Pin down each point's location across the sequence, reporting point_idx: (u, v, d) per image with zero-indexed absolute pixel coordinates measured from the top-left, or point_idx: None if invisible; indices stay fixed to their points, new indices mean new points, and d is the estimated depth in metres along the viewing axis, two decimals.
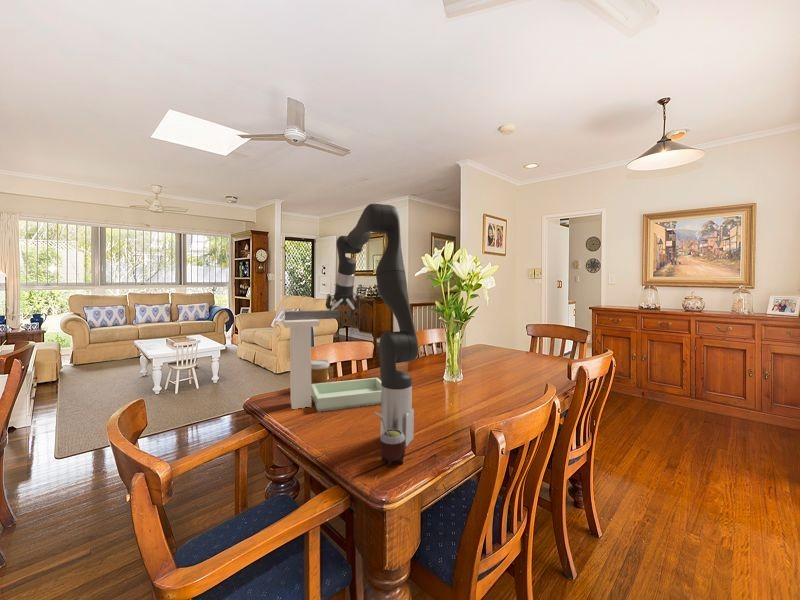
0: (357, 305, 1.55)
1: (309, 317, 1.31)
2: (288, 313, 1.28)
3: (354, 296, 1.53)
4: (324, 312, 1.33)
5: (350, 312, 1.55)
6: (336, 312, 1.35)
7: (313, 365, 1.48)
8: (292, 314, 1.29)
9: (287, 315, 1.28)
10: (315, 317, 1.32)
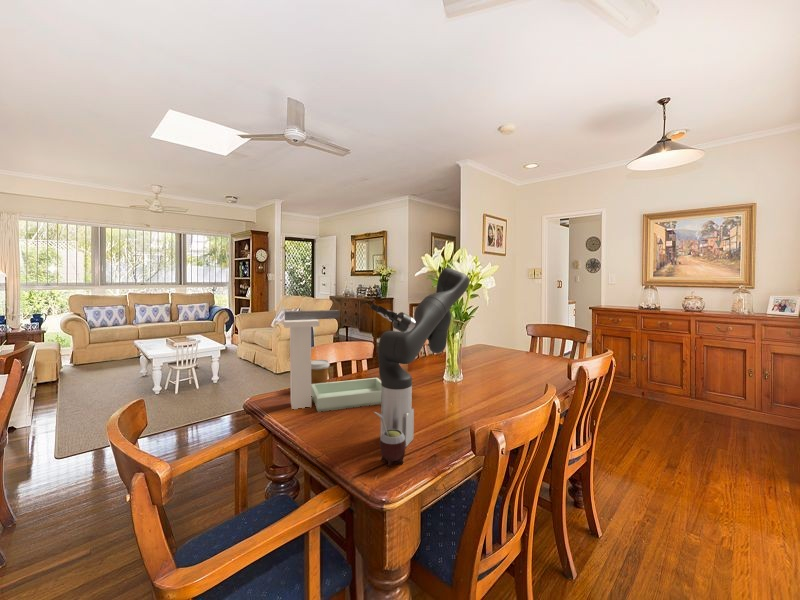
0: (393, 312, 1.37)
1: (309, 317, 1.31)
2: (288, 313, 1.28)
3: None
4: (324, 312, 1.33)
5: None
6: (336, 312, 1.35)
7: (313, 365, 1.48)
8: (292, 314, 1.29)
9: (287, 315, 1.28)
10: (315, 317, 1.32)
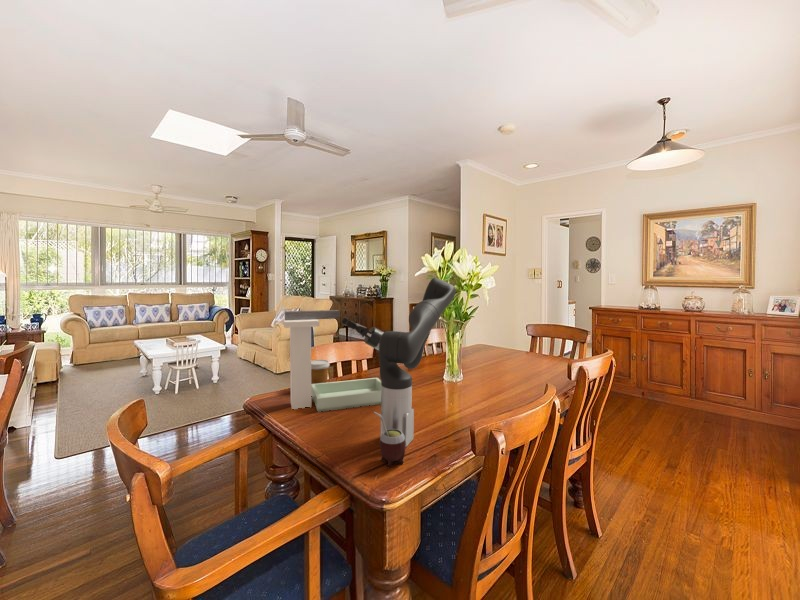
0: (362, 327, 1.34)
1: (309, 317, 1.31)
2: (288, 313, 1.28)
3: None
4: (324, 312, 1.33)
5: None
6: (336, 312, 1.35)
7: (313, 365, 1.48)
8: (292, 314, 1.29)
9: (287, 315, 1.28)
10: (315, 317, 1.32)
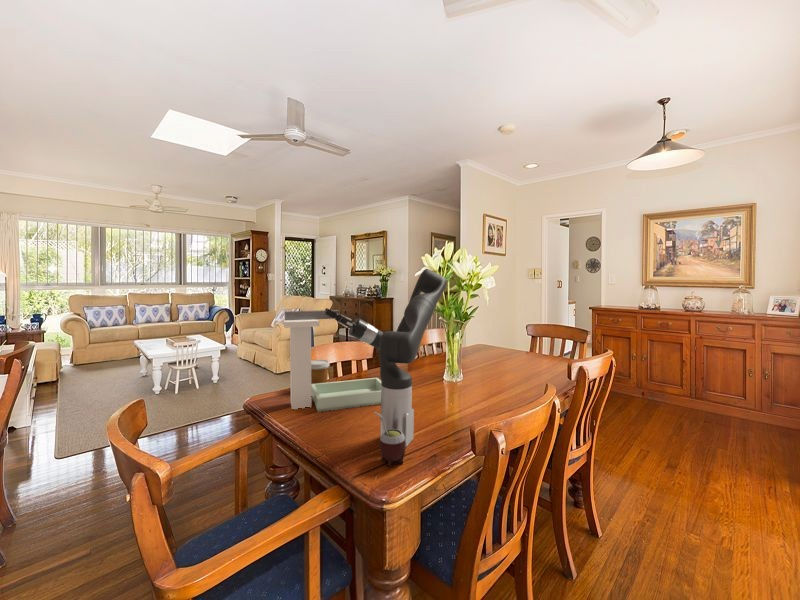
0: (342, 316, 1.33)
1: (309, 317, 1.31)
2: (288, 313, 1.28)
3: None
4: (324, 312, 1.33)
5: None
6: (336, 312, 1.35)
7: (313, 365, 1.48)
8: (292, 314, 1.29)
9: (287, 315, 1.28)
10: (315, 317, 1.32)
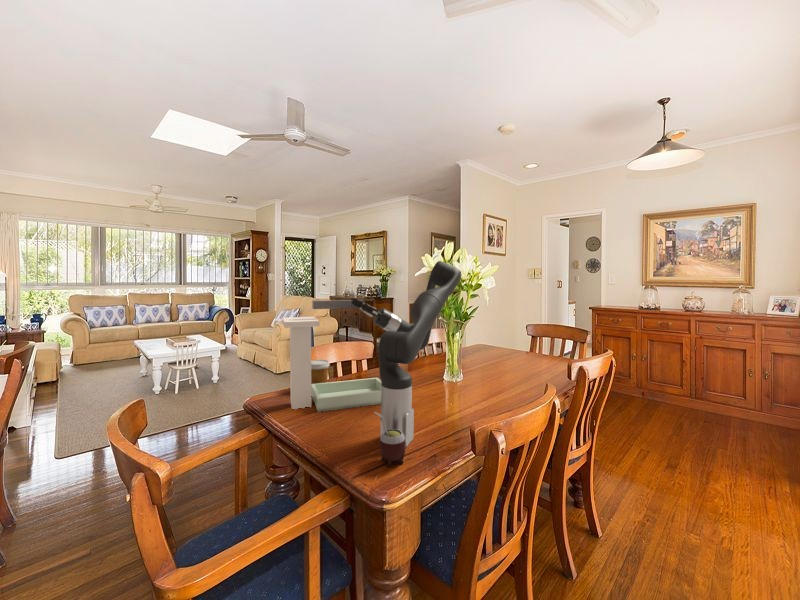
0: (368, 305, 1.37)
1: (336, 306, 1.35)
2: (316, 302, 1.32)
3: (376, 312, 1.37)
4: (350, 302, 1.37)
5: None
6: (362, 301, 1.38)
7: (313, 365, 1.48)
8: (320, 303, 1.32)
9: (315, 304, 1.32)
10: (342, 306, 1.35)
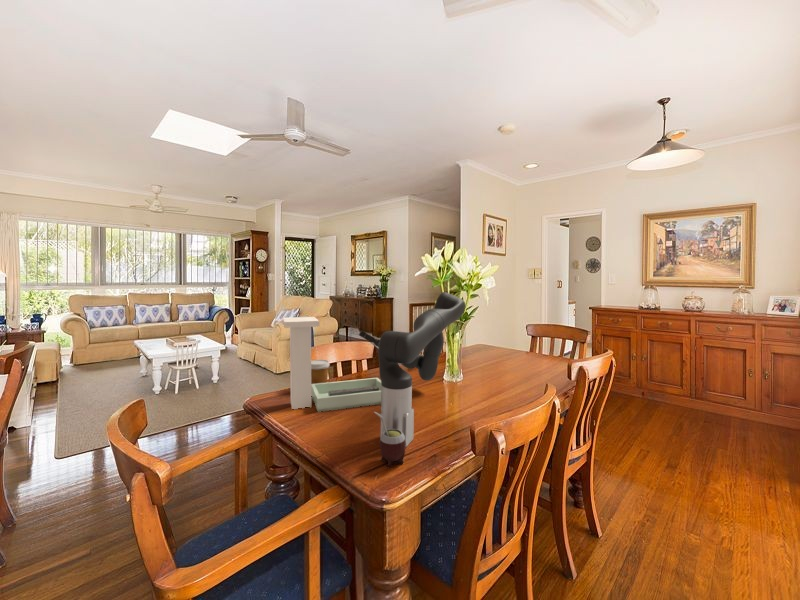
0: (380, 340, 1.37)
1: None
2: (332, 394, 1.36)
3: None
4: (365, 391, 1.41)
5: None
6: (376, 390, 1.42)
7: (313, 365, 1.48)
8: None
9: None
10: None
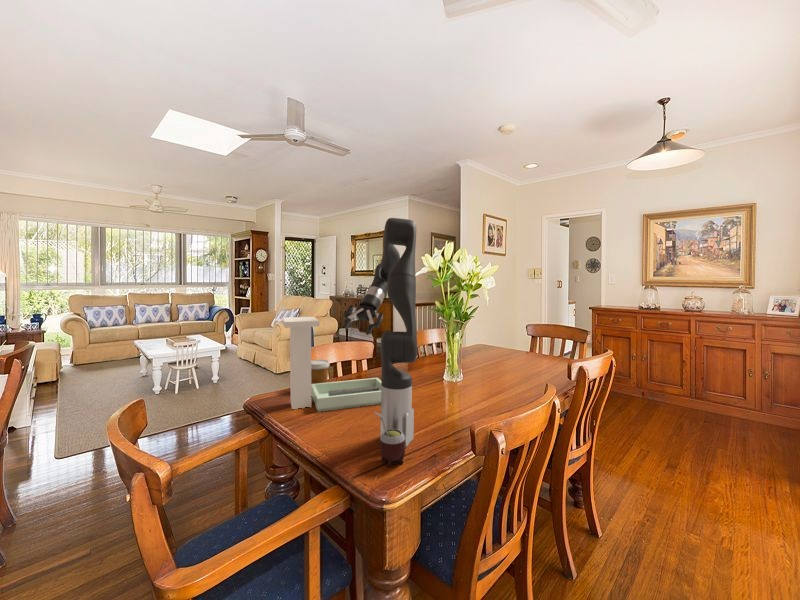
0: (377, 321, 1.32)
1: None
2: (332, 394, 1.36)
3: (377, 314, 1.35)
4: (365, 391, 1.41)
5: None
6: (376, 390, 1.42)
7: (313, 365, 1.48)
8: None
9: None
10: None
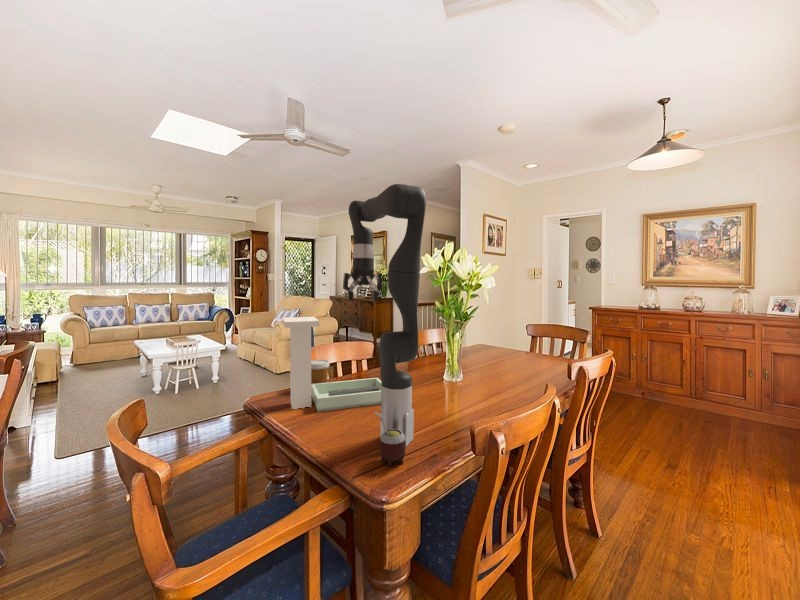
0: (380, 286, 1.30)
1: None
2: (332, 394, 1.36)
3: (375, 275, 1.30)
4: (365, 391, 1.41)
5: (373, 296, 1.30)
6: (376, 390, 1.42)
7: (313, 365, 1.48)
8: None
9: None
10: None
